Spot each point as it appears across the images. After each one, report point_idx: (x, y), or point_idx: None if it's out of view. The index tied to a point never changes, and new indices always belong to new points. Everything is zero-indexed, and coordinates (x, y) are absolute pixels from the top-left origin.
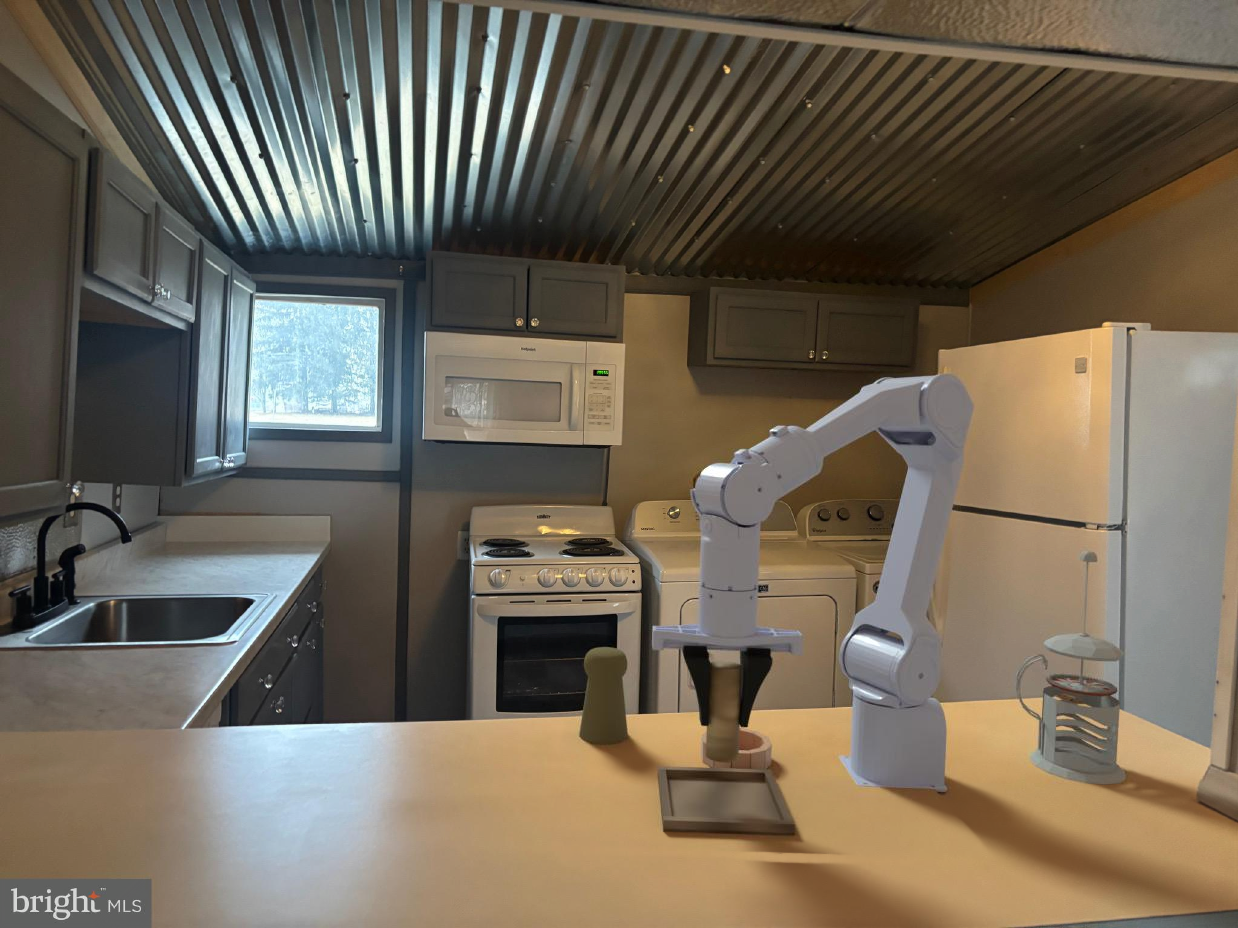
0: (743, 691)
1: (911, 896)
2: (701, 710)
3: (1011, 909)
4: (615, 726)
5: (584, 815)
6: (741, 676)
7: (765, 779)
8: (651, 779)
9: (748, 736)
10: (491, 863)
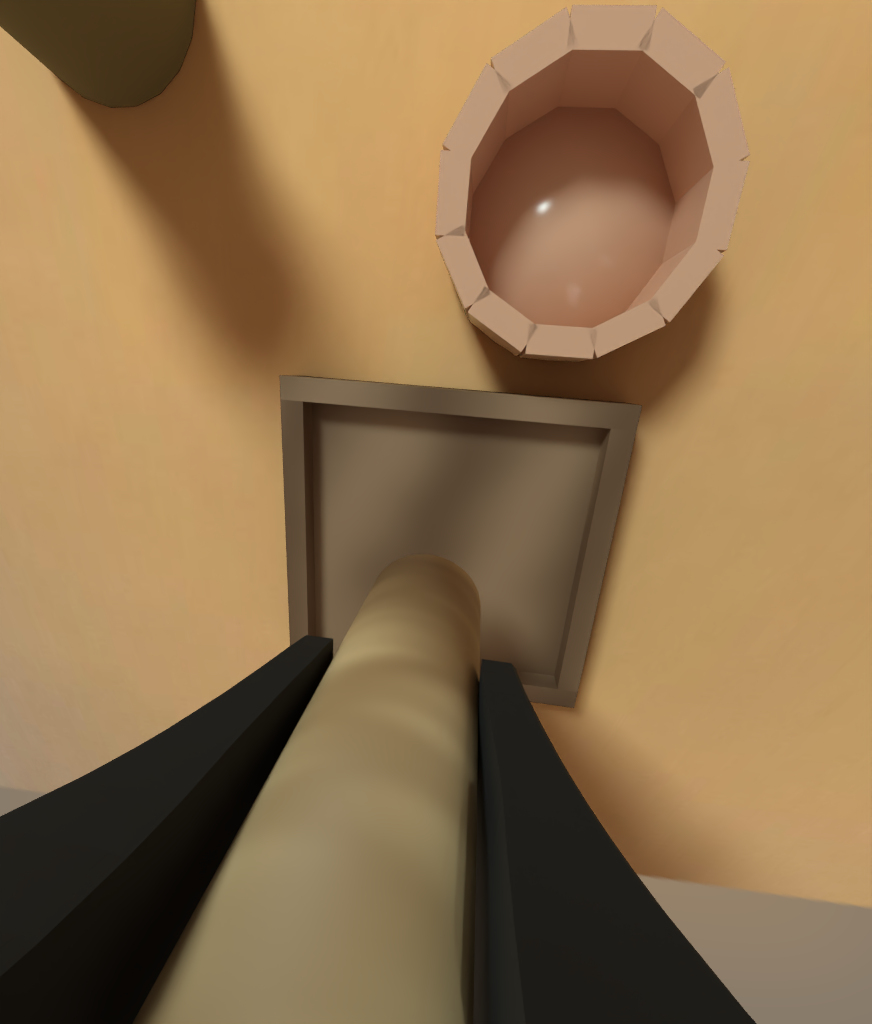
0: (482, 906)
1: (697, 840)
2: None
3: (849, 887)
4: (83, 18)
5: (149, 551)
6: (497, 926)
7: (603, 445)
8: (284, 364)
9: (669, 96)
10: (43, 690)
